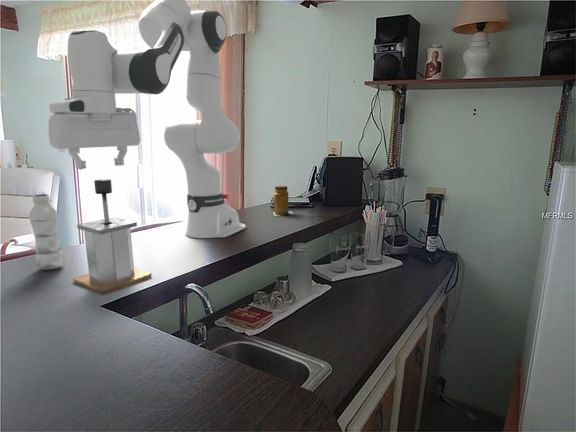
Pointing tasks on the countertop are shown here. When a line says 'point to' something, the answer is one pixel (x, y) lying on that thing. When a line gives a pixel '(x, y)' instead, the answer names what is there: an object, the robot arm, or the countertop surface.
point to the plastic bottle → (46, 233)
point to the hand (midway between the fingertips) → (101, 167)
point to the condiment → (281, 201)
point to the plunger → (104, 194)
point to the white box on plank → (109, 256)
